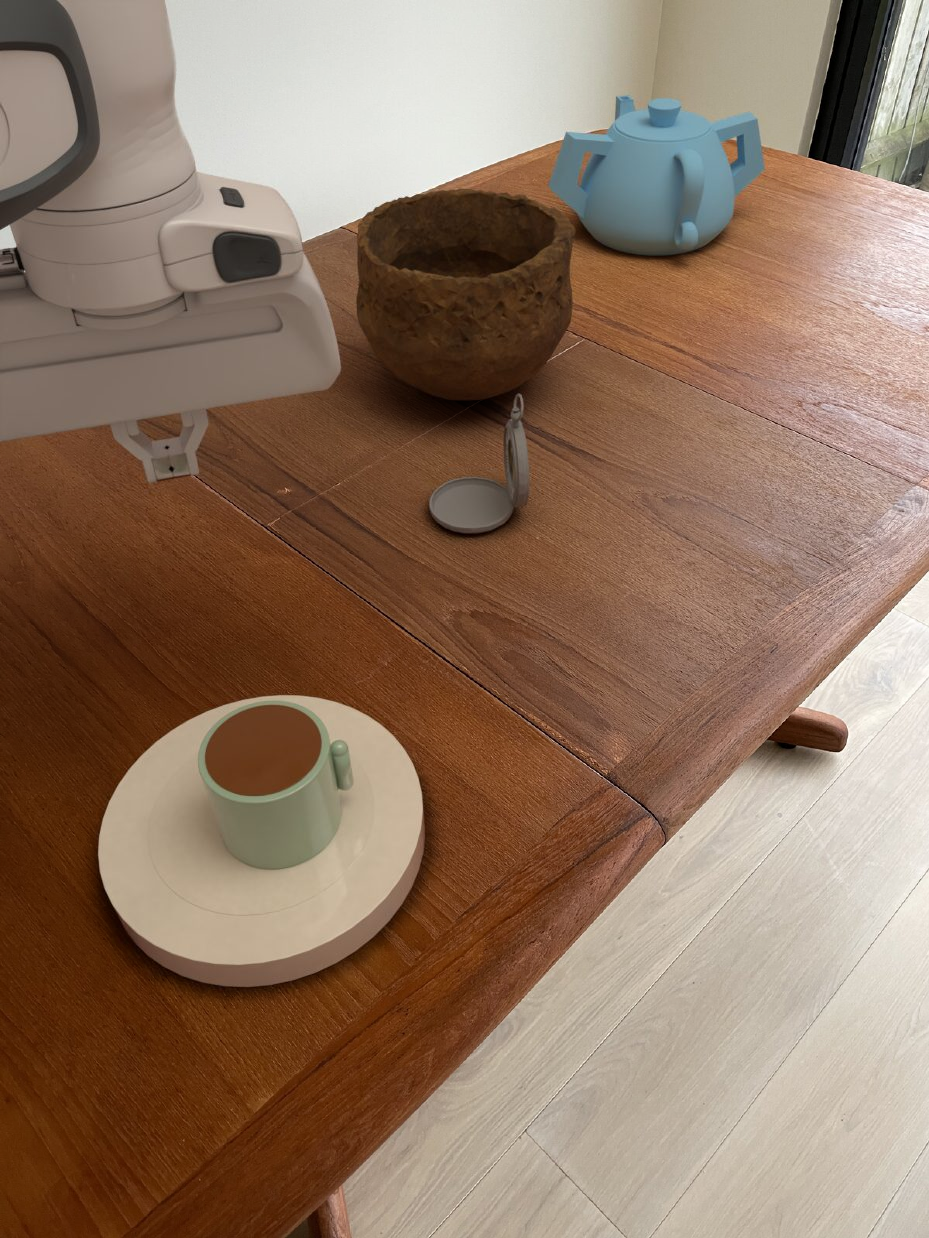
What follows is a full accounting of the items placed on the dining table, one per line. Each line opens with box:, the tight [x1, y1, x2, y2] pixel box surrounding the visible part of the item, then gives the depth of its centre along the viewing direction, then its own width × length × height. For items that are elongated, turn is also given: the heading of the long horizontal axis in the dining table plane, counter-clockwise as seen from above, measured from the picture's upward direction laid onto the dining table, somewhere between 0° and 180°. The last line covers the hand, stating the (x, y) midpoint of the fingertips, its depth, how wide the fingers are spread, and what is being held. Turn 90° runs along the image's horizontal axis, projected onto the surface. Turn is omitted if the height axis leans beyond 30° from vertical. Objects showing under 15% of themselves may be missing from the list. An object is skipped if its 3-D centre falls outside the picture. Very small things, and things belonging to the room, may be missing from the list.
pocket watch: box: [428, 393, 531, 534], centre depth 77 cm, size 8×8×10 cm
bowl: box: [356, 188, 577, 401], centre depth 89 cm, size 19×19×15 cm
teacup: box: [198, 701, 354, 869], centre depth 55 cm, size 8×7×6 cm
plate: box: [97, 694, 426, 988], centre depth 58 cm, size 18×18×2 cm
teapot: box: [547, 94, 766, 257], centre depth 113 cm, size 19×19×14 cm
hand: (173, 473), depth 58 cm, fingers closed
